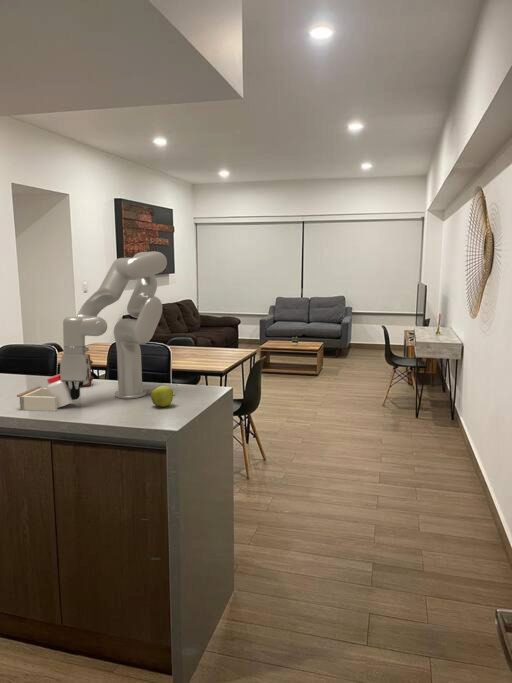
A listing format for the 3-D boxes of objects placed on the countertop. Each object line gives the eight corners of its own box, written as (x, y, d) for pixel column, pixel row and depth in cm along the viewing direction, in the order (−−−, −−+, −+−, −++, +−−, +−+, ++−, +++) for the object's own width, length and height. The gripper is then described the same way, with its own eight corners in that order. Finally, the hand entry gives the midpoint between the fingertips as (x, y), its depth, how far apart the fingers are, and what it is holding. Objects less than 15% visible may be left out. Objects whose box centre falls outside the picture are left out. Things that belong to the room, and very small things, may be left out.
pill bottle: (69, 399, 197) (58, 373, 195) (79, 398, 192) (68, 371, 190) (51, 408, 192) (40, 381, 190) (61, 407, 187) (49, 380, 185)
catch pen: (73, 401, 200) (72, 387, 199) (55, 411, 186) (54, 396, 185) (38, 400, 201) (37, 386, 201) (17, 409, 187) (16, 395, 186)
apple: (178, 407, 191) (178, 386, 190) (155, 410, 186) (154, 389, 185) (171, 402, 198) (170, 382, 196) (148, 405, 193) (148, 385, 192)
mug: (98, 385, 228) (96, 352, 225) (83, 388, 221) (81, 354, 219) (76, 381, 235) (74, 349, 233) (61, 384, 228) (59, 351, 226)
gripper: (97, 349, 192) (98, 397, 194) (59, 348, 192) (60, 396, 194) (90, 352, 184) (90, 401, 186) (50, 351, 185) (51, 400, 187)
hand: (75, 398), depth 190 cm, fingers closed
